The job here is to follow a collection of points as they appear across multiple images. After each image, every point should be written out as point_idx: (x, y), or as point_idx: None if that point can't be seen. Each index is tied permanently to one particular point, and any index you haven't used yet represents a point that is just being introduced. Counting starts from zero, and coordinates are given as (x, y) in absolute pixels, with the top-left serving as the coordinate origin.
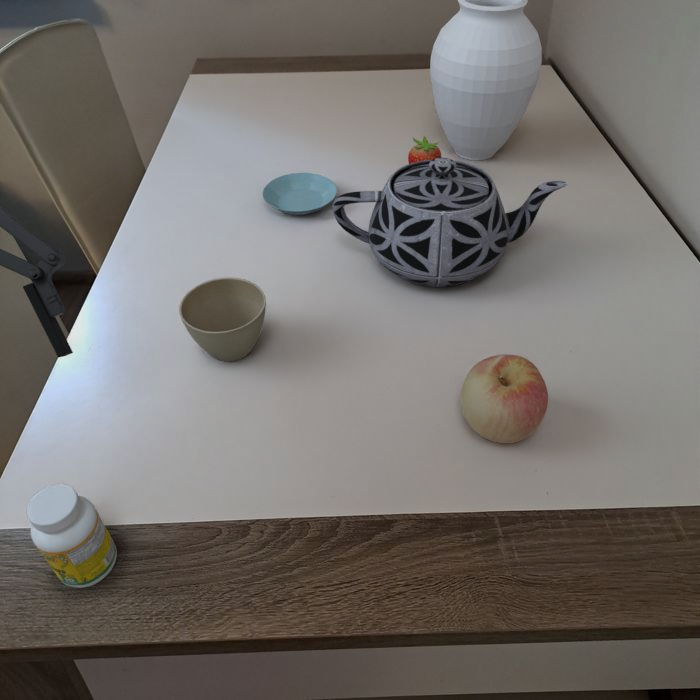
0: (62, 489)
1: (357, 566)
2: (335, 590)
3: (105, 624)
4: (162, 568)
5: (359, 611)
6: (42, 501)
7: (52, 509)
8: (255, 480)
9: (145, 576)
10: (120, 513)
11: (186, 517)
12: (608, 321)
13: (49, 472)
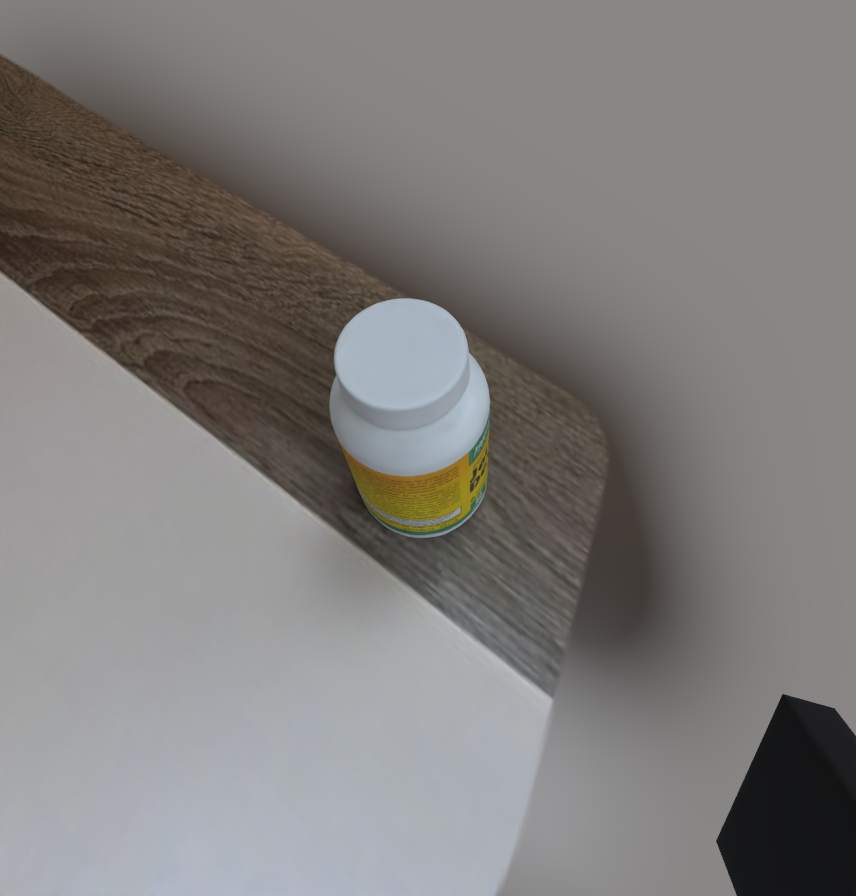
0: (358, 373)
1: (86, 215)
2: (140, 206)
3: None
4: (316, 384)
5: (143, 171)
6: (417, 370)
7: (406, 333)
8: (54, 439)
9: None
10: (311, 550)
11: (214, 451)
12: None
13: (390, 816)
